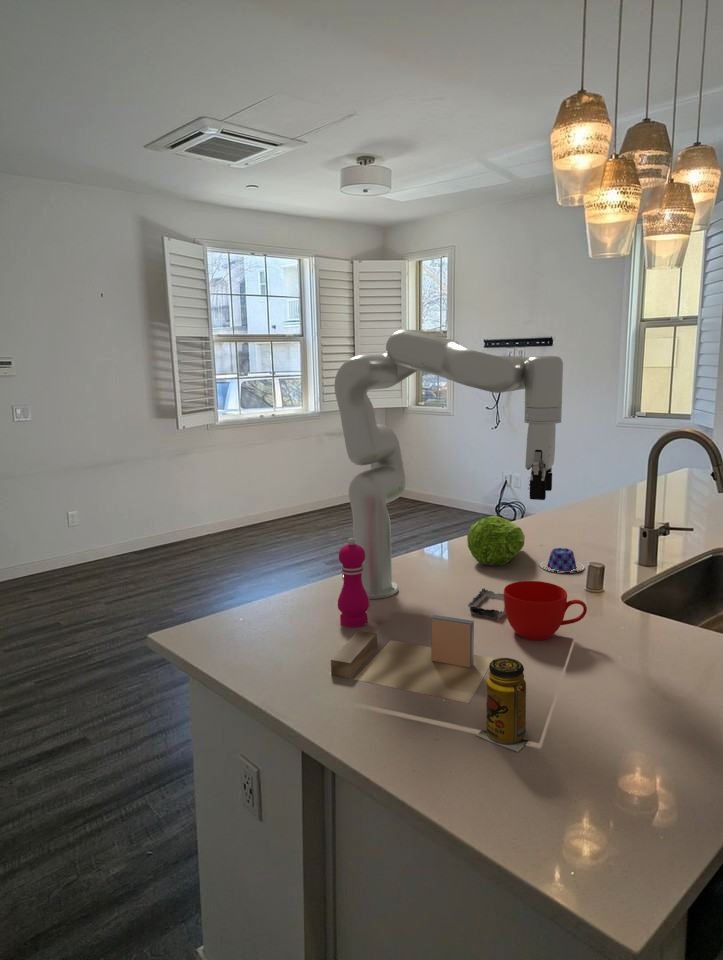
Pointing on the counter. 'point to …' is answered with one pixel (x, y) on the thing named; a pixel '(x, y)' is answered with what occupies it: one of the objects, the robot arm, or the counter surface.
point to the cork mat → (423, 672)
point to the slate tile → (452, 641)
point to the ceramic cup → (537, 608)
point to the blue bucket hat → (561, 560)
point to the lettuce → (495, 540)
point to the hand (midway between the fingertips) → (540, 494)
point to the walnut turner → (353, 654)
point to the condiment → (506, 704)
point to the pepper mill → (352, 586)
